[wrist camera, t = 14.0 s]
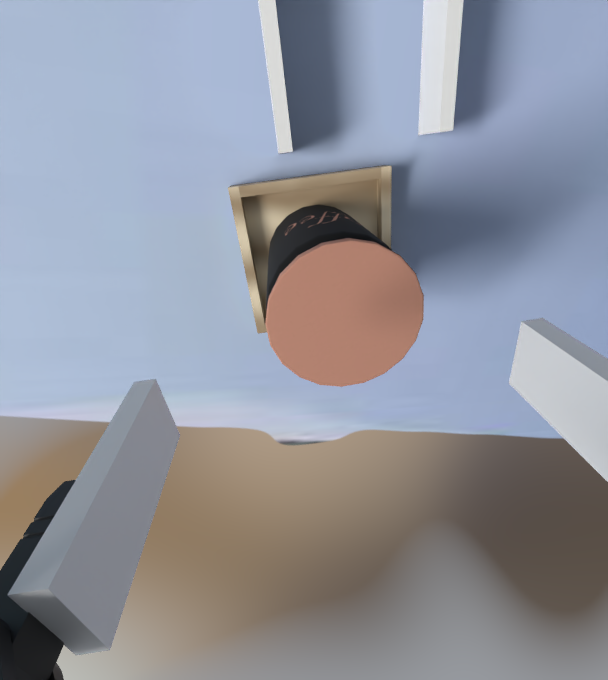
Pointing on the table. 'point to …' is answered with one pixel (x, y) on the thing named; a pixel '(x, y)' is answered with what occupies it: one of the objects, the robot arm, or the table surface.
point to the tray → (294, 193)
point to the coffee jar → (338, 299)
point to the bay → (435, 67)
